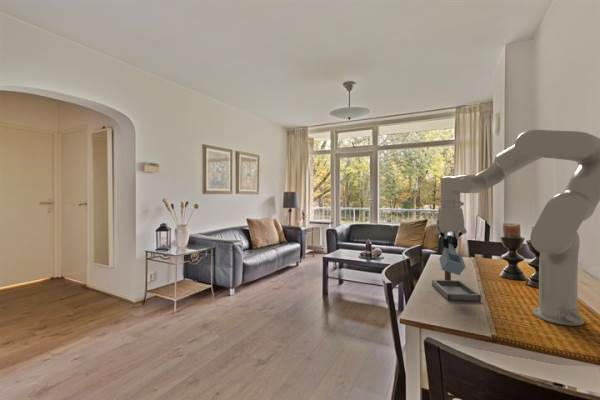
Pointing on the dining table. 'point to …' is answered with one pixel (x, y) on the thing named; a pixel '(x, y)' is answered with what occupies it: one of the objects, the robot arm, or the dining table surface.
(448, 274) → the post
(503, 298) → the dining table surface
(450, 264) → the light blue chunk
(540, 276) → the robot arm
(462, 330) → the dining table surface
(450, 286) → the tray
